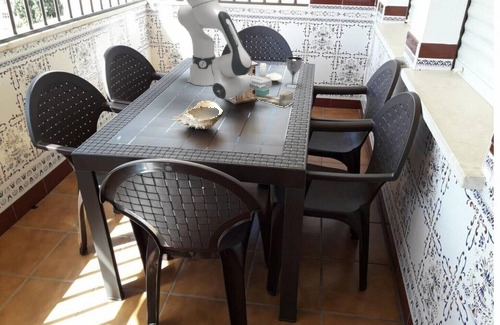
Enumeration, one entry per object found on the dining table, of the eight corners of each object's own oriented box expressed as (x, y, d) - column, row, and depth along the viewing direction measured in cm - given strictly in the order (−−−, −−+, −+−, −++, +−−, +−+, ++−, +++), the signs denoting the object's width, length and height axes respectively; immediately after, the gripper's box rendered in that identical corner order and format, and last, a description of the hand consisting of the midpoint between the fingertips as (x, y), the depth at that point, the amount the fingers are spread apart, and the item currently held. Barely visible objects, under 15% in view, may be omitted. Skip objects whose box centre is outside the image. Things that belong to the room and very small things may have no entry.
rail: (246, 97, 197) (246, 85, 194) (255, 94, 202) (255, 82, 199) (284, 108, 185) (285, 95, 182) (292, 104, 190) (293, 92, 187)
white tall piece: (254, 93, 194) (255, 63, 188) (260, 91, 198) (262, 61, 191) (262, 96, 192) (264, 65, 185) (269, 93, 195) (270, 63, 188)
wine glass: (285, 88, 212) (287, 59, 205) (284, 84, 219) (286, 56, 212) (300, 88, 212) (303, 60, 205) (298, 84, 219) (301, 56, 212)
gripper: (261, 80, 173) (279, 74, 183) (225, 72, 184) (244, 66, 194) (260, 95, 176) (278, 88, 186) (225, 85, 187) (243, 79, 196)
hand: (260, 77), depth 190 cm, fingers open, 8 cm apart
